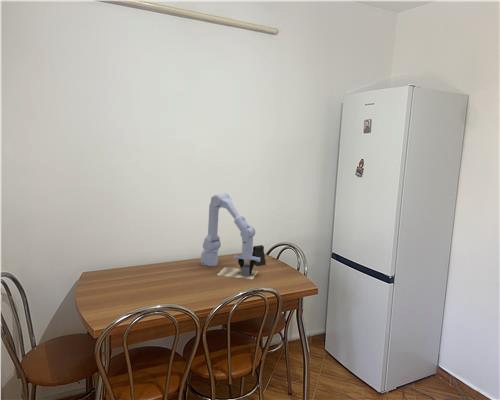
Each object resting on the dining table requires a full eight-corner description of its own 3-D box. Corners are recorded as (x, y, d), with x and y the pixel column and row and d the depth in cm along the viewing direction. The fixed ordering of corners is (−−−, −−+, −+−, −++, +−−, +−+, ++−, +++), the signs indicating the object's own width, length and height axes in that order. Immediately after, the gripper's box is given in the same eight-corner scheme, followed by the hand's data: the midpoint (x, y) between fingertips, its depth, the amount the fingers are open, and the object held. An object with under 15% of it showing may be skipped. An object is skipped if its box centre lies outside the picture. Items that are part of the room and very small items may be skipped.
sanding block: (241, 275, 198) (241, 267, 197) (244, 271, 205) (245, 263, 205) (248, 276, 197) (248, 268, 196) (251, 271, 204) (252, 264, 204)
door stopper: (266, 266, 218) (266, 247, 216) (257, 268, 215) (258, 248, 213) (257, 262, 225) (258, 243, 224) (249, 263, 222) (250, 244, 220)
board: (216, 276, 198) (216, 275, 198) (224, 268, 211) (224, 267, 211) (252, 281, 193) (252, 279, 193) (258, 272, 207) (258, 270, 207)
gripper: (232, 249, 197) (231, 273, 199) (258, 252, 193) (257, 276, 195) (236, 246, 204) (235, 269, 206) (261, 248, 200) (260, 272, 202)
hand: (246, 272), depth 201 cm, fingers closed on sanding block, 4 cm apart
